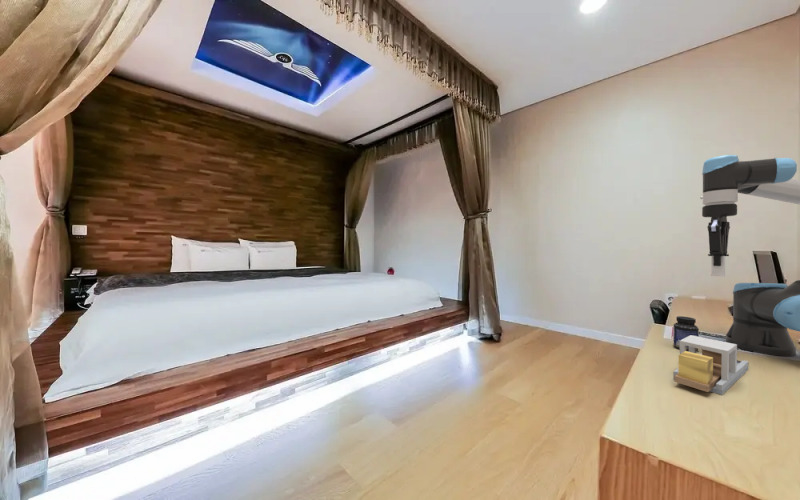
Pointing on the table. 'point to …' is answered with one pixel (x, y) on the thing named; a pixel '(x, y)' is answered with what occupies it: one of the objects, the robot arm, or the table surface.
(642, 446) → the table surface
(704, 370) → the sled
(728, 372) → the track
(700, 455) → the table surface
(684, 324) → the pill bottle
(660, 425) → the table surface
